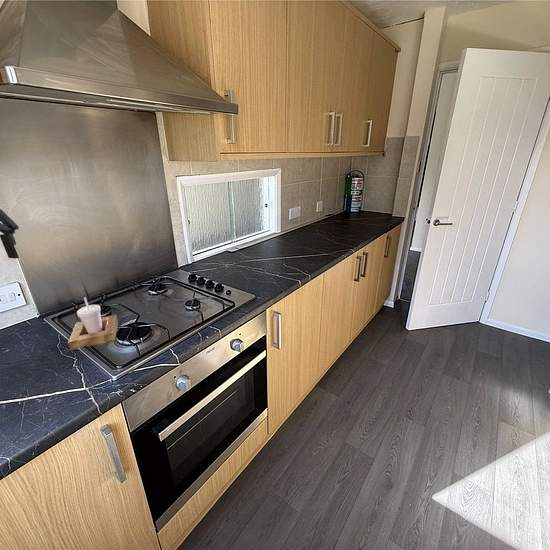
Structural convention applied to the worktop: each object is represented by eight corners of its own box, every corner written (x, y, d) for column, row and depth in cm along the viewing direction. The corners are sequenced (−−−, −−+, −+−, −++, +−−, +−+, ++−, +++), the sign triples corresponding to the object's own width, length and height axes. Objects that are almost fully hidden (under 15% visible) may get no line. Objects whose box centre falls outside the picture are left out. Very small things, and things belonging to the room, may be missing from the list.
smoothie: (87, 343, 91) (73, 304, 85) (84, 334, 96) (71, 296, 90) (109, 335, 95) (98, 297, 89) (105, 327, 99) (94, 290, 94)
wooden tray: (70, 350, 88) (67, 342, 87) (79, 330, 98) (76, 322, 97) (114, 340, 92) (112, 332, 91) (118, 322, 102) (116, 314, 101)
